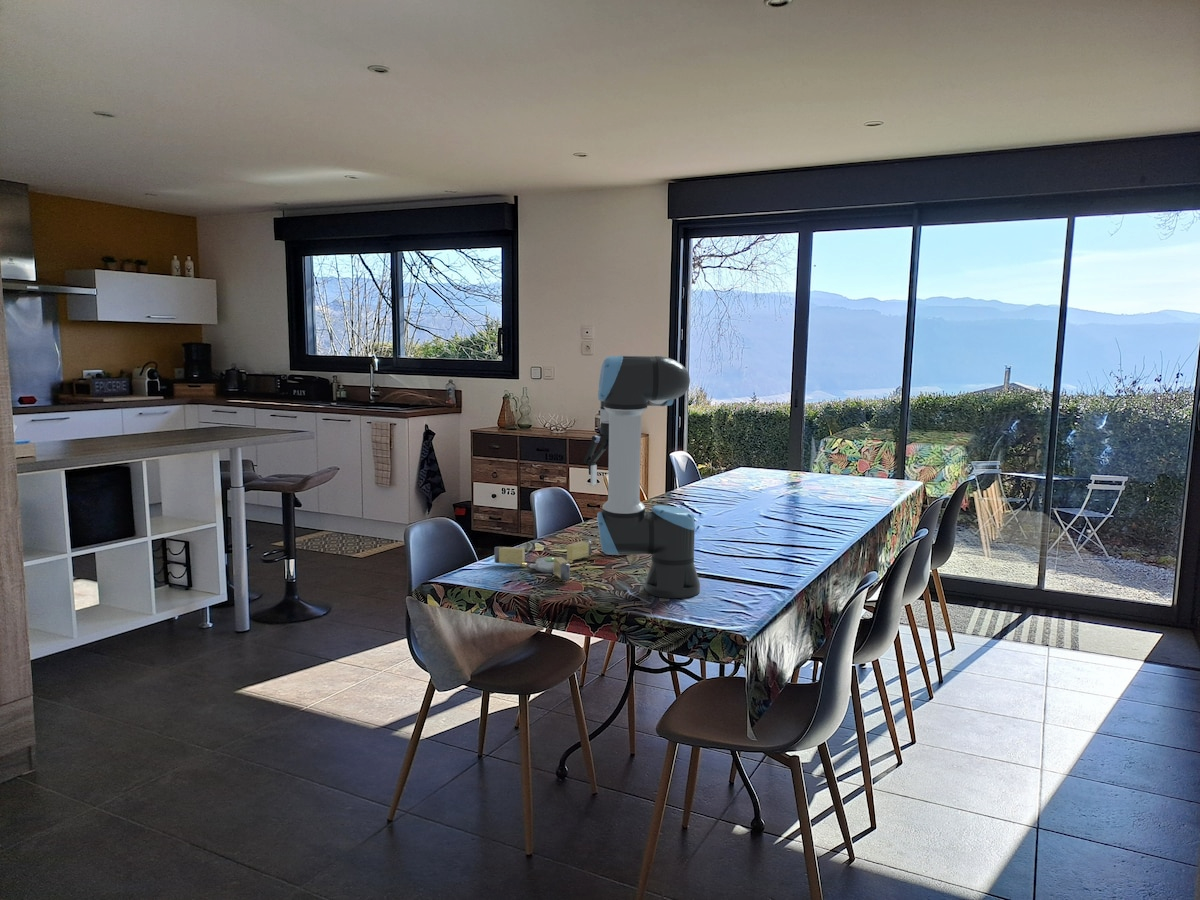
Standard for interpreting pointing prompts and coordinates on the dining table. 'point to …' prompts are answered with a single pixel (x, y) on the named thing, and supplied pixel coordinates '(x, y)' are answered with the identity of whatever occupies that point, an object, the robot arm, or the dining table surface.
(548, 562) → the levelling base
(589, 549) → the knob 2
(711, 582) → the dining table surface
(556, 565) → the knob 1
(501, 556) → the yellow and grey block
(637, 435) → the robot arm
